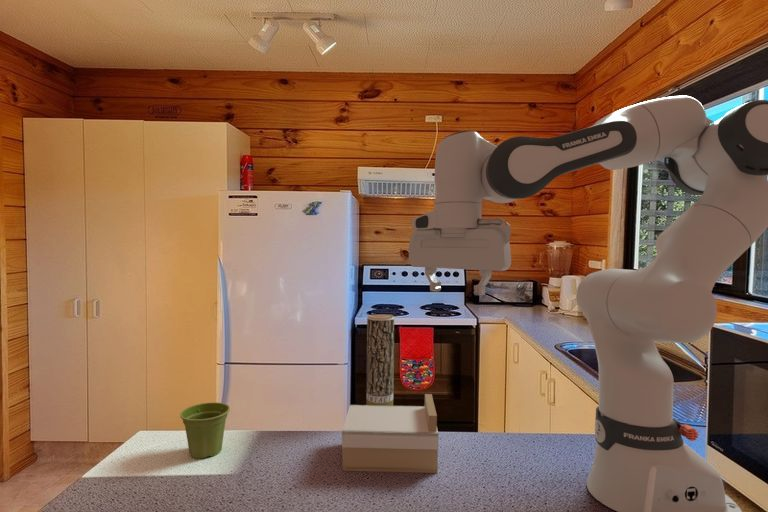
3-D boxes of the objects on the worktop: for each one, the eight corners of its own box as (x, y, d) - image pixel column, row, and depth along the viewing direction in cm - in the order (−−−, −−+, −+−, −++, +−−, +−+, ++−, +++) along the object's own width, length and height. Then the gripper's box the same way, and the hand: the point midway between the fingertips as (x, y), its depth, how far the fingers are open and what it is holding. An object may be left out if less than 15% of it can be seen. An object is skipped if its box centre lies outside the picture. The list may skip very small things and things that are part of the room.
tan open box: (432, 444, 94) (432, 412, 94) (437, 473, 82) (437, 436, 82) (349, 442, 94) (349, 410, 94) (342, 470, 82) (342, 434, 82)
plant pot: (212, 466, 84) (212, 421, 84) (169, 460, 86) (169, 417, 85) (238, 444, 93) (238, 404, 93) (199, 440, 95) (199, 400, 95)
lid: (432, 420, 95) (432, 392, 95) (438, 449, 81) (438, 417, 81) (349, 418, 95) (350, 391, 95) (342, 447, 81) (342, 415, 81)
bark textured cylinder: (367, 409, 114) (368, 314, 113) (393, 409, 113) (394, 314, 113) (365, 419, 107) (366, 318, 107) (392, 420, 107) (393, 318, 106)
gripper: (517, 218, 78) (516, 295, 78) (422, 222, 91) (421, 288, 91) (503, 217, 73) (501, 299, 73) (404, 220, 86) (403, 290, 86)
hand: (456, 293), depth 82 cm, fingers open, 8 cm apart
